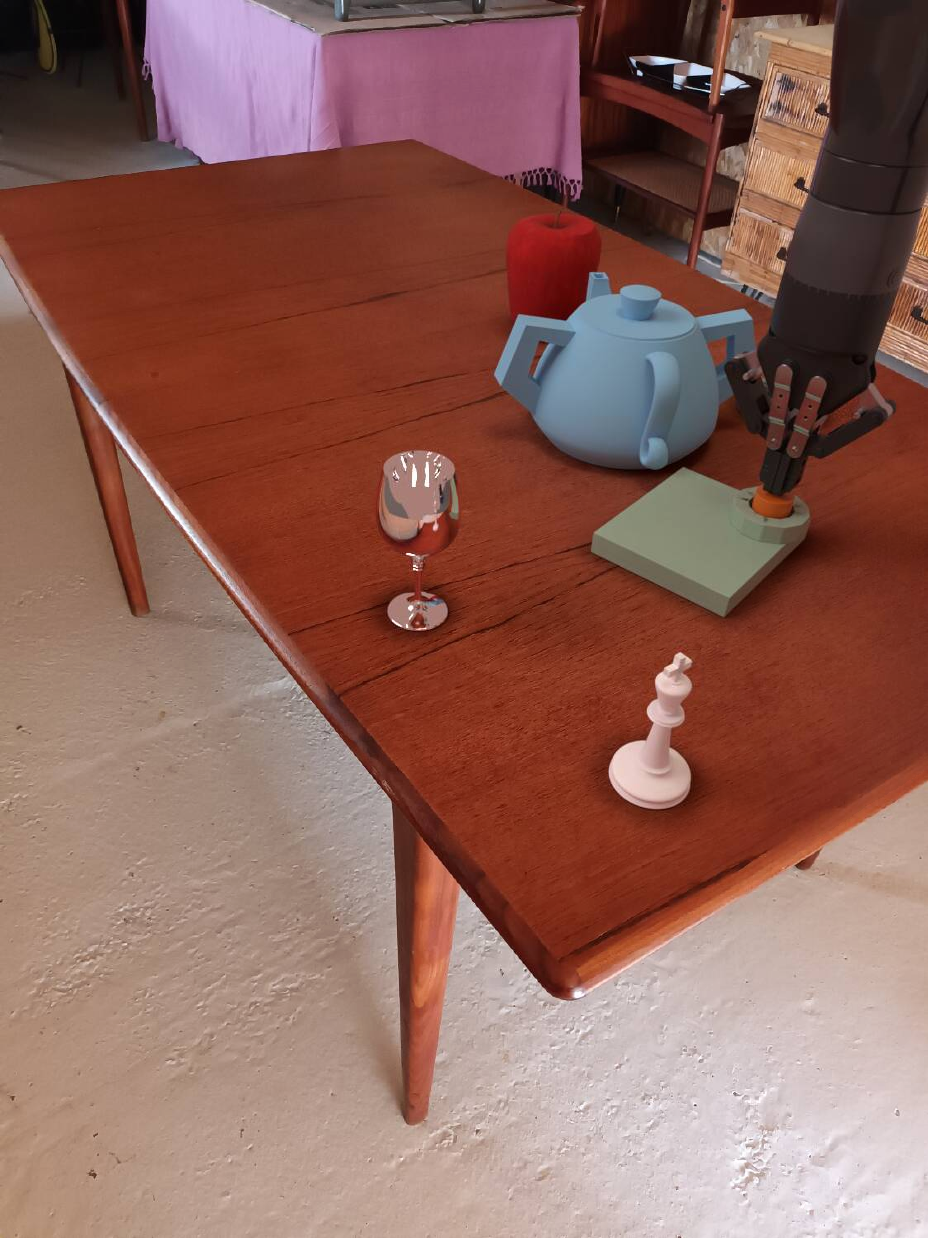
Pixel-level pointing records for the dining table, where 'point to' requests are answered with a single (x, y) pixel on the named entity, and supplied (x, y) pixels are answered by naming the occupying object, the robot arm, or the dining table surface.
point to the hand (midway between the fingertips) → (775, 489)
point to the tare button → (772, 504)
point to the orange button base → (701, 539)
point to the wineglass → (418, 526)
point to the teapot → (624, 375)
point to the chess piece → (657, 748)
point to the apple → (550, 264)
